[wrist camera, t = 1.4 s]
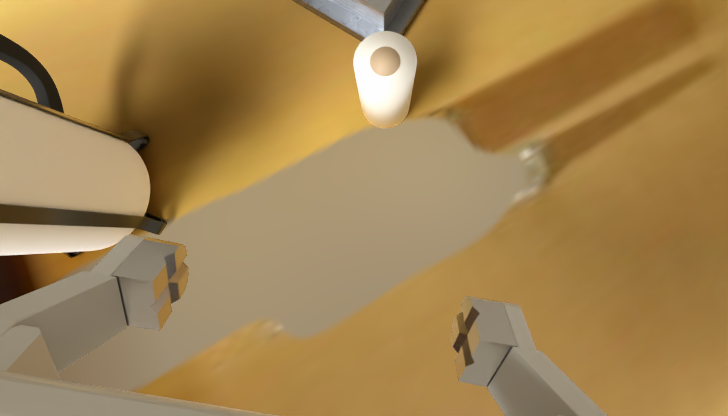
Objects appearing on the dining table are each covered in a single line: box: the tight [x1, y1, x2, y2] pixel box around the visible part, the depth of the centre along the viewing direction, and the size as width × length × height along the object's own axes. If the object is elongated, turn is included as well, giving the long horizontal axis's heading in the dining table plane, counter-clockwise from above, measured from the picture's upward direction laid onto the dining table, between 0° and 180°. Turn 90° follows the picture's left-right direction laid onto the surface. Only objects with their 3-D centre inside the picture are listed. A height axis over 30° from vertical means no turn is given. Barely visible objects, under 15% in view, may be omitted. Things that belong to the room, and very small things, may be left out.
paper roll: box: [354, 31, 417, 128], centre depth 36 cm, size 5×5×10 cm
